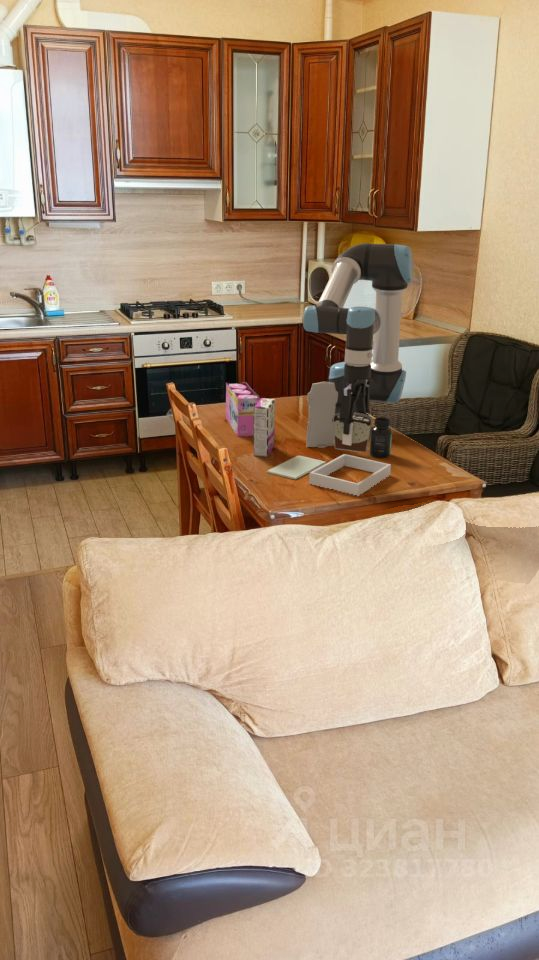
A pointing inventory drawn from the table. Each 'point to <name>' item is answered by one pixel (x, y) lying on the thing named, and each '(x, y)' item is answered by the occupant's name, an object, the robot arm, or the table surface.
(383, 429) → the supplement bottle
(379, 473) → the bin
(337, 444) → the food container
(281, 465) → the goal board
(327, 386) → the grey upright slab
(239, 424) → the gum box
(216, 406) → the table surface
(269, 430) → the candy bar box
